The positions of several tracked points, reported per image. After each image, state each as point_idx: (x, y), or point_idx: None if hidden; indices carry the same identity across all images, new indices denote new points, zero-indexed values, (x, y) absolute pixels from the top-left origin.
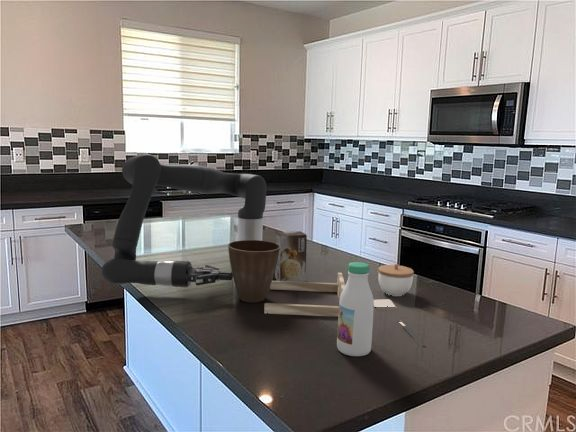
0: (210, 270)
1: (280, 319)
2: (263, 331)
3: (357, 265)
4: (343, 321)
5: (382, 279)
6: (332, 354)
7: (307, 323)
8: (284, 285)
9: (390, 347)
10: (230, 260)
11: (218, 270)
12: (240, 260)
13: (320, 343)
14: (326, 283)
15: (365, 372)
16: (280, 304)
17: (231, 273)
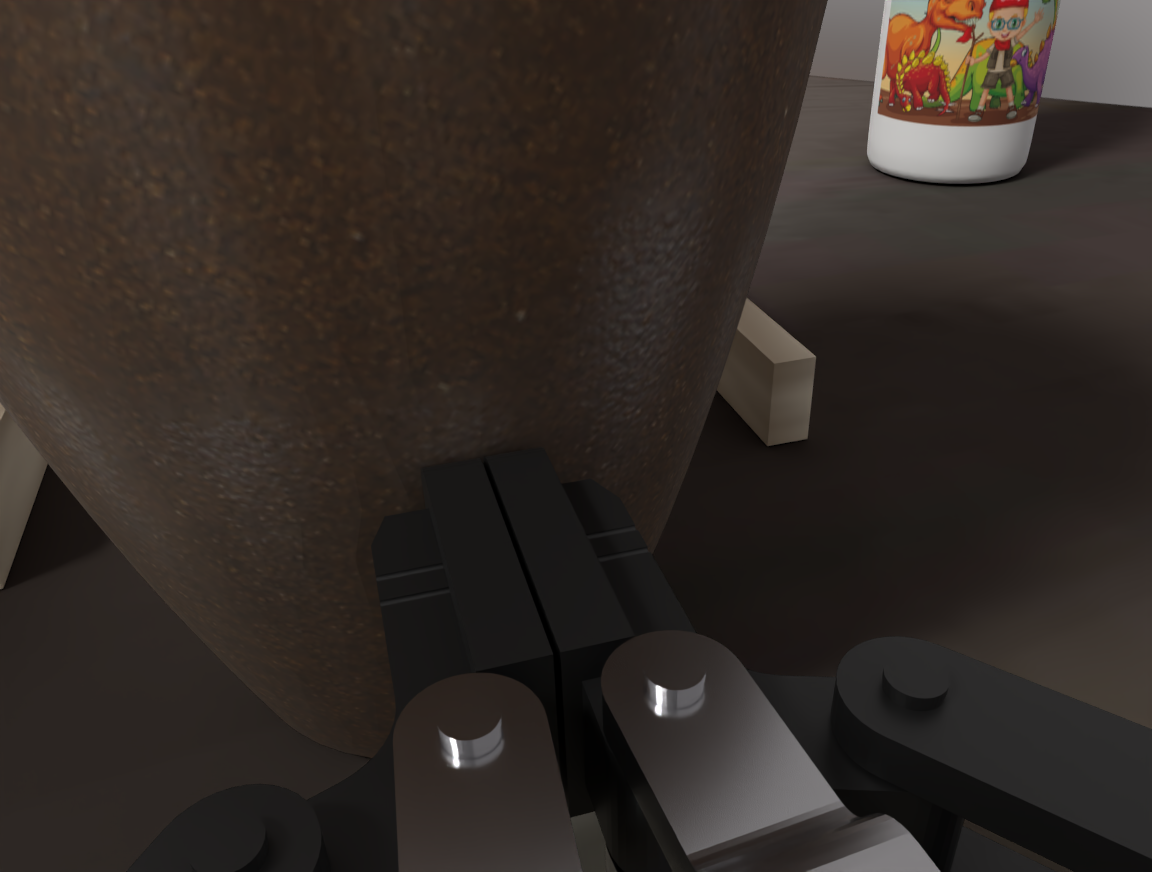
0: (757, 859)
1: (840, 352)
2: (1135, 363)
3: None
4: (1058, 7)
5: None
6: (1058, 186)
7: (791, 271)
8: (21, 438)
9: (824, 133)
10: (685, 52)
11: (495, 696)
12: None
13: (996, 215)
14: None
15: (1092, 141)
16: None
17: (538, 450)
